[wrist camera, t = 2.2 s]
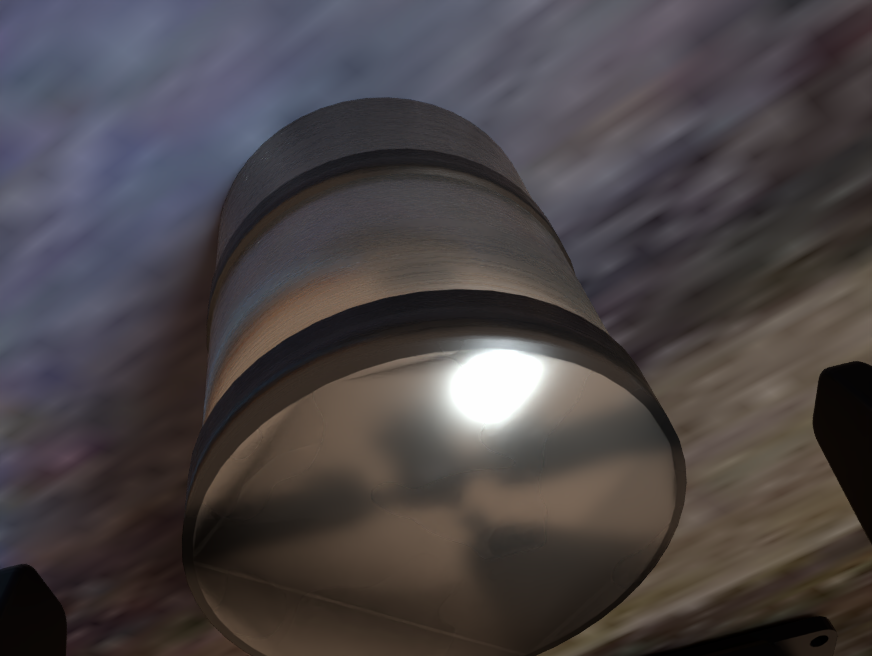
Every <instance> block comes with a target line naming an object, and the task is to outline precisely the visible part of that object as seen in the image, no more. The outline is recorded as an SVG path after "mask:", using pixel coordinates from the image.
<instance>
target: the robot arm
mask: <svg viewBox="0 0 872 656" xmlns="http://www.w3.org/2000/svg"><path fill="white" fill-rule="evenodd" d="M813 429H814V434H815V437H816V439H817V441H818V444H819V445H820V447H821V449H822V451H823V453H824V455H825V457H826V459H827V461H828V463H829V465H830V467H831V468H832V470H833V472H834V474H835V476H836V478H837V480H838V482H839V484H840V486H841V488H842V489H843V491H844V493H845V495H846V497H847V499H848V501H849V503H850V505H851V507H852V509H853V511H854V512H855V514H856V516H857V518H858V520H859V522H860V524H861V526H862V528H863V530H864V532H865V534H866V535H867V537H868V539H869V541H870V543H871V544H872V366H871V365H869V364H866V363H863V362H859V361H853V362H849V363H845V364H841V365H837V366H832V367H828V368H826V369H824V370H823V371H822V373H821V374H820V376H819V380H818V387H817V394H816V400H815V407H814V413H813ZM837 637H838V636H837V632H836V630H835V629H834V627H833V626H832V624H831V622H830V621H829V619H827V618H826V617H822V616H818V617H812V618H808V619H804V620H800V621H797V622H793V623H789V624H785V625H781V626H777V627H773V628H769V629H765V630H761V631H757V632H753V633H749V634H746V635H742V636H738V637H734V638H730V639H726V640H722V641H718V642H714V643H710V644H706V645H702V646H699V647H695V648H691V649H687V650H683V651H679V652H675V653H671V654H667V655H663V656H833V654H834V650H835V646H836V641H837ZM66 640H67V622H66V616H65V612H64V609H63V607H62V605H61V603H60V602H59V601H58V599H57V598H56V597H55V595H54V594H53V593H52V591H51V590H50V589H49V587H48V586H47V585H46V583H45V582H44V581H43V579H42V578H41V577H40V575H39V574H38V573H37V571H36V570H35V569H34V568H33V567H32V566H30V565H27V564H20V565H16V566H11V567H7V568H3V569H0V656H66Z"/></svg>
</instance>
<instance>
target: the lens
mask: <svg viewBox="0 0 872 656" xmlns="http://www.w3.org/2000/svg"><path fill="white" fill-rule="evenodd" d="M207 350H208V366H207V378H206V390H205V402H204V413H203V425H202V429H201V431H200V434H199V437H198V439H197V442H196V445H195V447H194V450H193V453H192V458H191V463H190V469H189V474H188V483H187V493H186V503H185V514H184V524H183V534H182V557H183V565H184V570H185V574H186V578H187V583H188V585H189V587H190V590H191V592H192V594H193V596H194V598H195V601H196V603H197V604H198V606H199V607H200V609H201V610H202V612H203V613H204V614H205V616H206V617H207V619H208V620H209V621H210V623H211V624H212V625H214V626H215V627H216V628H217V629H218V630H219V631H220V632H221V633H222V634H223V635H224V636H225V637H226V638H227V639H228V640H229V641H231V642H232V643H234V644H235V645H236V646H238V647H239V648H240V649H242V650H243V651H245V652H246V653H248V654H250V655H252V656H536V655H538V654H541V653H543V652H545V651H547V650H549V649H551V648H554V647H556V646H558V645H559V644H561V643H563V642H565V641H567V640H568V639H570V638H572V637H574V636H576V635H577V634H579V633H581V632H582V631H584V630H585V629H587V628H588V627H590V626H591V625H593V624H594V623H596V622H597V621H599V620H600V619H602V618H603V617H604V616H605V615H607V614H608V613H609V612H610V611H612V610H613V609H614V608H615V607H617V606H618V605H619V604H620V603H622V602H623V601H624V600H625V599H626V598H627V597H628V596H629V595H630V594H631V593H632V592H633V591H634V590H635V589H636V588H637V587H638V586H639V585H640V584H641V583H642V581H643V580H644V579H645V578H646V577H647V575H648V574H649V573H650V572H651V571H652V569H653V568H654V567H655V566H656V564H657V563H658V561H659V559H660V558H661V556H662V555H663V553H664V552H665V550H666V549H667V547H668V545H669V543H670V541H671V539H672V537H673V535H674V532H675V530H676V528H677V526H678V523H679V519H680V516H681V513H682V509H683V506H684V500H685V492H686V483H687V482H686V467H685V459H684V455H683V452H682V448H681V444H680V441H679V438H678V436H677V434H676V432H675V430H674V428H673V426H672V424H671V423H670V421H669V419H668V417H667V415H666V413H665V412H664V410H663V408H662V407H661V405H660V403H659V401H658V400H657V398H656V396H655V395H654V393H653V391H652V389H651V388H650V386H649V384H648V383H647V381H646V379H645V377H644V376H643V374H642V372H641V371H640V369H639V367H638V366H637V365H636V364H635V362H634V361H633V360H632V358H631V357H630V356H629V354H628V353H627V352H626V351H625V349H624V348H623V347H621V346H620V345H619V344H618V343H617V342H616V341H615V340H614V339H613V338H612V337H610V336H609V334H608V332H607V330H606V328H605V327H604V325H603V323H602V321H601V320H600V318H599V316H598V314H597V313H596V311H595V309H594V307H593V305H592V304H591V302H590V300H589V298H588V297H587V295H586V293H585V291H584V290H583V288H582V286H581V284H580V283H579V281H578V279H577V277H576V275H575V272H574V269H573V266H572V263H571V260H570V258H569V256H568V254H567V252H566V251H565V249H564V247H563V245H562V243H561V241H560V239H559V238H558V236H557V234H556V232H555V231H554V229H553V227H552V225H551V224H550V222H549V220H548V219H547V217H546V216H545V215H544V213H543V212H542V211H541V209H540V208H539V207H538V205H537V204H536V203H535V202H534V201H533V199H532V198H531V196H530V194H529V192H528V191H527V189H526V187H525V185H524V183H523V182H522V180H521V178H520V176H519V175H518V173H517V171H516V169H515V168H514V166H513V164H512V162H511V161H510V160H509V158H508V157H507V156H506V154H505V153H504V152H503V150H502V149H501V148H500V147H499V146H498V145H497V144H496V143H495V142H494V141H493V140H492V139H491V138H490V137H489V136H488V135H487V134H486V133H485V132H483V131H482V130H481V129H479V128H478V127H477V126H475V125H474V124H473V123H471V122H470V121H468V120H466V119H464V118H462V117H460V116H459V115H457V114H455V113H453V112H451V111H448V110H445V109H443V108H440V107H438V106H435V105H432V104H428V103H423V102H419V101H415V100H410V99H400V98H389V97H386V98H364V99H357V100H351V101H345V102H341V103H337V104H334V105H331V106H327V107H324V108H321V109H318V110H316V111H314V112H312V113H309V114H307V115H305V116H302V117H300V118H299V119H297V120H295V121H294V122H292V123H290V124H289V125H287V126H285V127H284V128H282V129H281V130H279V131H278V132H277V133H276V134H274V135H273V136H272V137H271V138H269V139H268V140H267V141H266V142H264V143H263V144H262V145H261V147H260V148H259V149H258V150H257V151H256V152H255V153H254V154H253V155H252V156H251V157H250V158H249V160H248V161H247V162H246V164H245V165H244V167H243V168H242V169H241V171H240V172H239V174H238V175H237V177H236V179H235V181H234V183H233V185H232V187H231V189H230V191H229V193H228V195H227V198H226V201H225V204H224V207H223V210H222V215H221V221H220V227H219V234H218V246H217V258H216V270H215V273H214V276H213V280H212V286H211V292H210V298H209V307H208V318H207Z"/></svg>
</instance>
